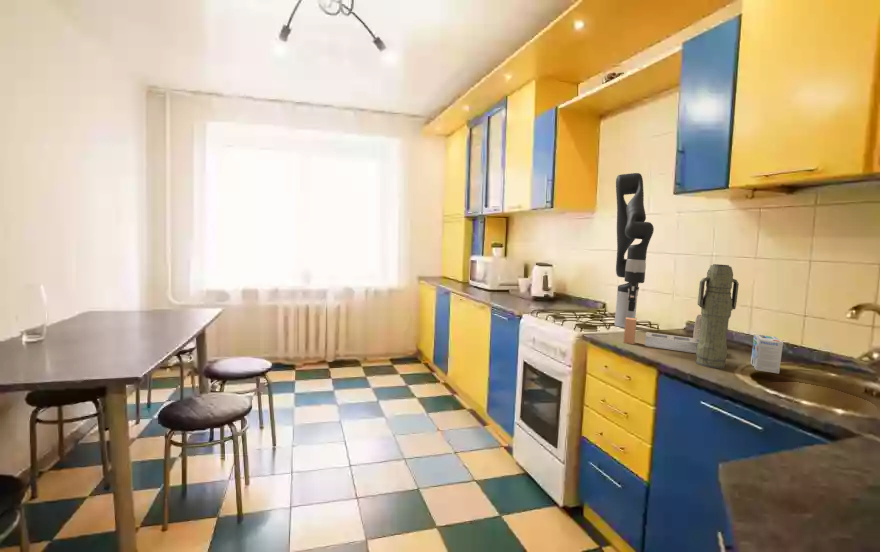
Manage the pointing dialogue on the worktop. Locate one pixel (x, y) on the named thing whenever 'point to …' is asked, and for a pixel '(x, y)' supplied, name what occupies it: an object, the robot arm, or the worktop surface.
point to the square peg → (630, 330)
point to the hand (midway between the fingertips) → (631, 309)
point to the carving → (697, 327)
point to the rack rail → (671, 342)
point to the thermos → (715, 315)
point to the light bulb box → (766, 353)
